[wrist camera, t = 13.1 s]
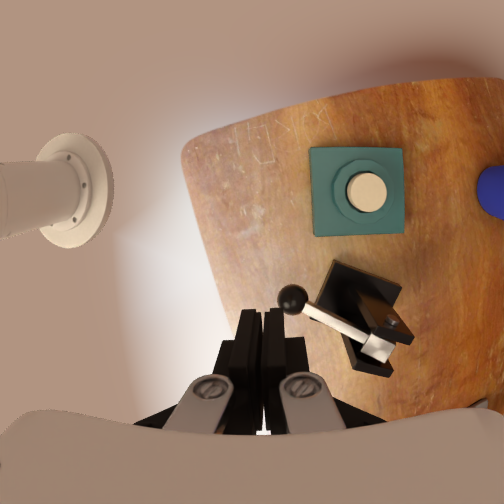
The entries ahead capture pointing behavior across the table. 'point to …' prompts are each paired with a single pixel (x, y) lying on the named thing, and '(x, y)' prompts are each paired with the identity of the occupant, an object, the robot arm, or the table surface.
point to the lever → (333, 321)
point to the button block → (335, 190)
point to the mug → (492, 191)
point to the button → (367, 192)
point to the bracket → (364, 311)
